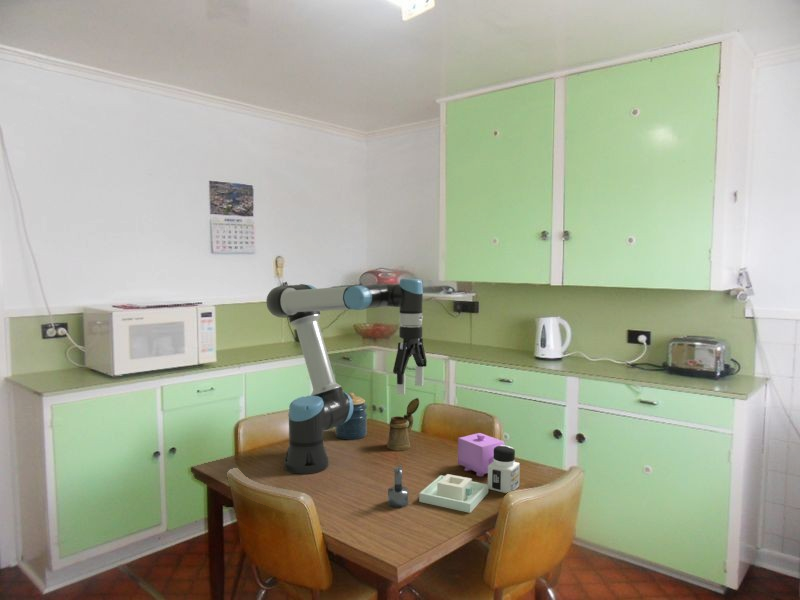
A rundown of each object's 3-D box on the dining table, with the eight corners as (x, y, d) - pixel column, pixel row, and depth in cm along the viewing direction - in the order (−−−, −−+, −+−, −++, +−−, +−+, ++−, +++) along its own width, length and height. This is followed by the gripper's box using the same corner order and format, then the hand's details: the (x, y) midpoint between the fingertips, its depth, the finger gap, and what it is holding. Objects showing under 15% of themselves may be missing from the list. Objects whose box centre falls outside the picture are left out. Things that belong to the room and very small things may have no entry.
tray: (419, 501, 171) (419, 493, 171) (440, 483, 185) (440, 475, 185) (470, 512, 163) (470, 504, 163) (488, 492, 178) (488, 484, 177)
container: (510, 494, 176) (511, 453, 175) (487, 489, 180) (487, 448, 179) (519, 486, 183) (520, 446, 182) (496, 481, 187) (497, 441, 186)
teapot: (453, 466, 200) (453, 430, 199) (474, 460, 206) (475, 426, 205) (493, 484, 184) (494, 446, 183) (515, 477, 190) (516, 440, 189)
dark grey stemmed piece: (384, 505, 168) (384, 469, 167) (393, 497, 174) (394, 462, 173) (402, 509, 165) (402, 472, 165) (411, 501, 171) (412, 466, 170)
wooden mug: (424, 446, 221) (425, 400, 220) (394, 452, 214) (394, 404, 213) (412, 440, 229) (412, 395, 227) (382, 445, 221) (382, 399, 220)
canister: (369, 430, 240) (369, 389, 239) (364, 440, 227) (364, 396, 226) (338, 429, 241) (338, 388, 240) (332, 439, 229) (331, 395, 227)
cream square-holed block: (437, 497, 172) (437, 482, 172) (447, 488, 180) (447, 474, 179) (466, 503, 168) (466, 488, 168) (475, 493, 175) (475, 479, 175)
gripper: (403, 330, 176) (403, 399, 177) (436, 322, 198) (436, 383, 199) (382, 329, 179) (382, 396, 181) (417, 321, 201) (416, 381, 203)
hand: (410, 389), depth 190 cm, fingers open, 13 cm apart
